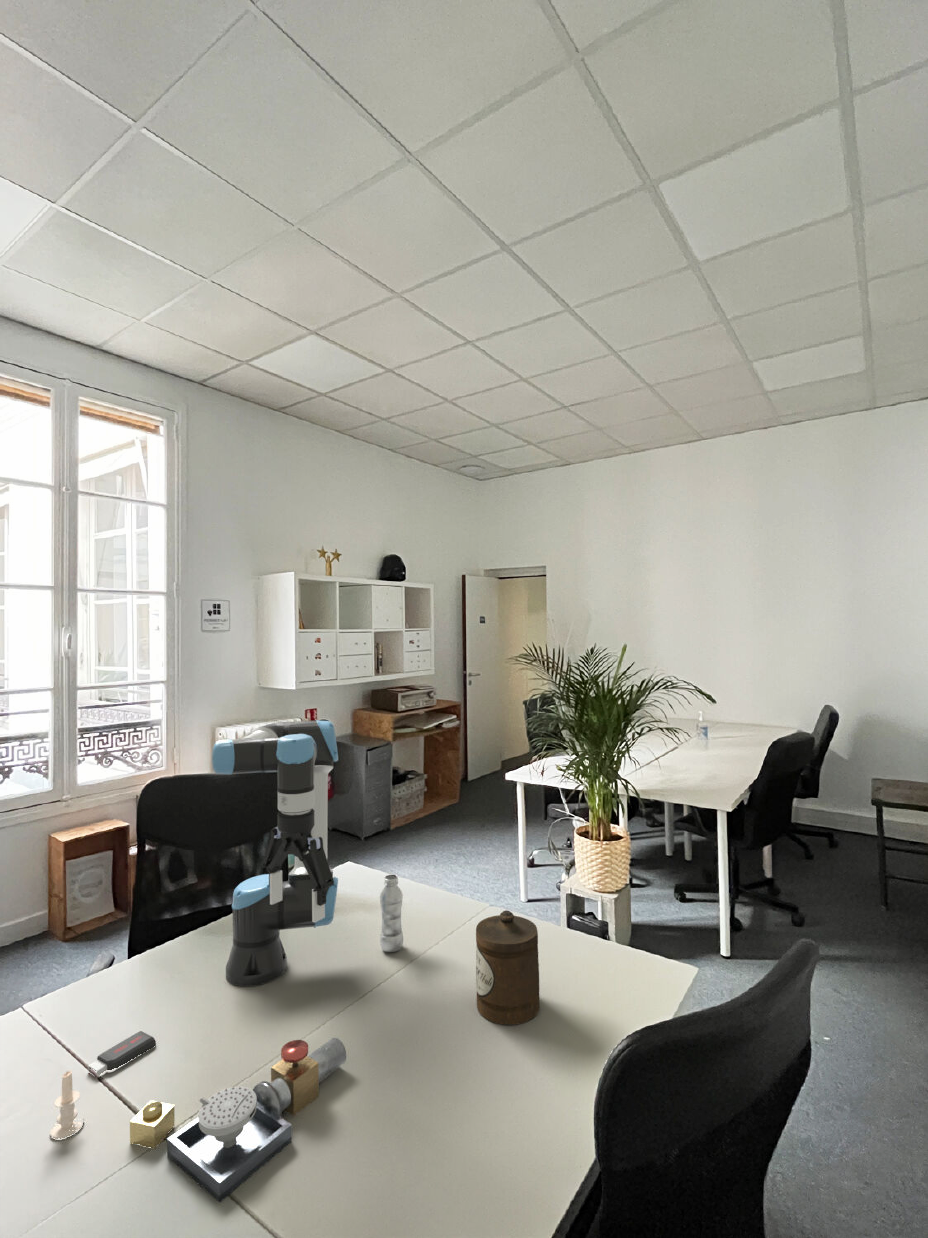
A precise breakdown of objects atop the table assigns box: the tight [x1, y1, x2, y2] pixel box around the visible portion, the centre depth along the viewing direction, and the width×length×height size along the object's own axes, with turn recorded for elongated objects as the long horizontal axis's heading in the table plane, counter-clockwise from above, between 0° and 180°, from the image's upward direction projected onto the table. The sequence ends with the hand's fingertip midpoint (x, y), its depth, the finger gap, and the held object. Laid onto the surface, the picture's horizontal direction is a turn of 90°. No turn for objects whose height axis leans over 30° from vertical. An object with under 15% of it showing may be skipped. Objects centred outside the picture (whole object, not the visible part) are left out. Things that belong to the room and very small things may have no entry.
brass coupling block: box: [129, 1100, 175, 1150], centre depth 112 cm, size 5×5×5 cm
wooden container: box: [475, 910, 541, 1026], centre depth 149 cm, size 15×15×22 cm
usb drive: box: [87, 1030, 157, 1076], centre depth 132 cm, size 5×12×3 cm, turn 149°
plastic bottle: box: [379, 874, 404, 953], centre depth 175 cm, size 6×7×20 cm
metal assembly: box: [166, 1037, 348, 1203], centre depth 116 cm, size 15×32×10 cm, turn 145°
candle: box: [49, 1070, 82, 1139], centre depth 113 cm, size 5×5×10 cm
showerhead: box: [197, 1085, 257, 1148], centre depth 109 cm, size 9×7×10 cm
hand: (296, 910), depth 133 cm, fingers open, 13 cm apart
